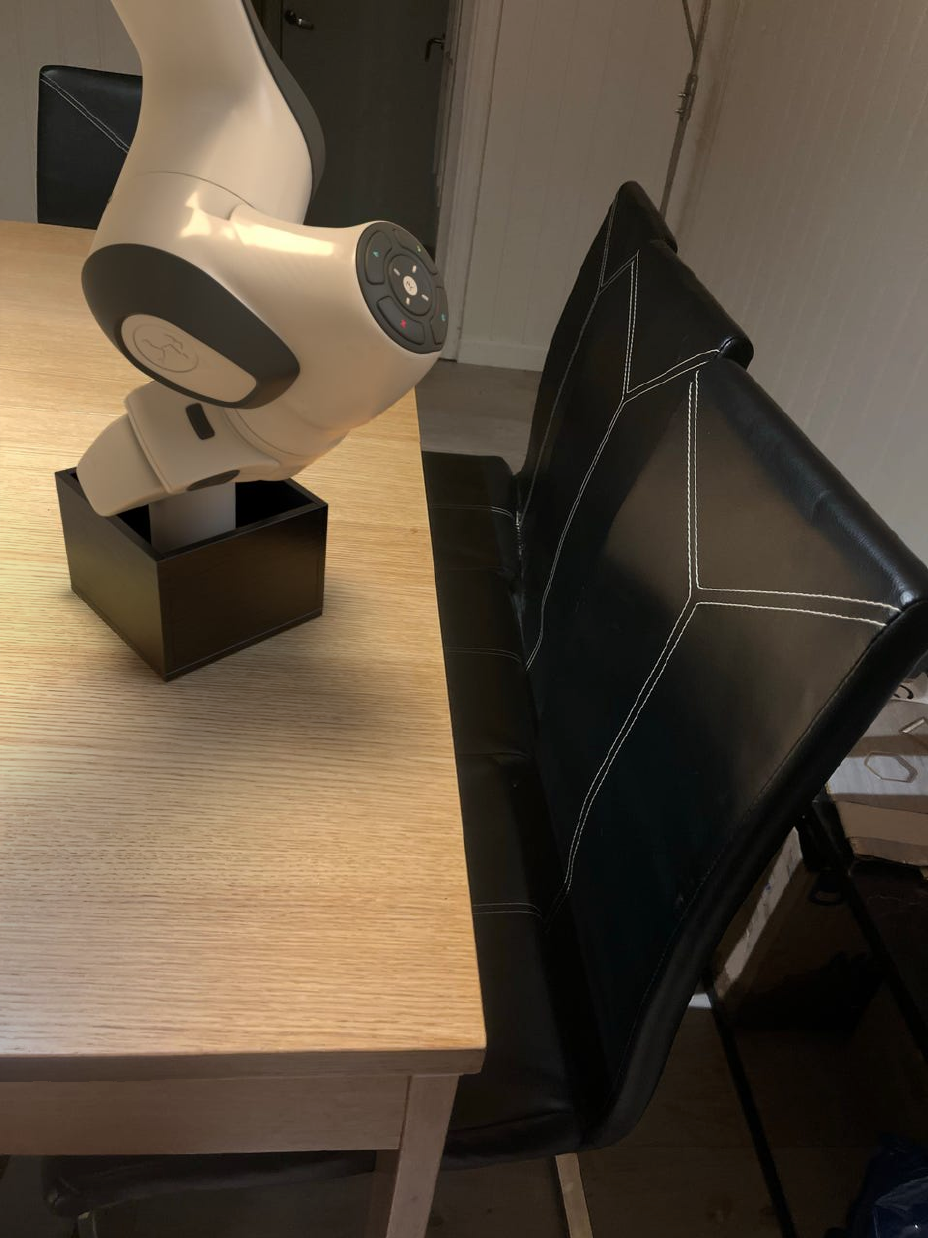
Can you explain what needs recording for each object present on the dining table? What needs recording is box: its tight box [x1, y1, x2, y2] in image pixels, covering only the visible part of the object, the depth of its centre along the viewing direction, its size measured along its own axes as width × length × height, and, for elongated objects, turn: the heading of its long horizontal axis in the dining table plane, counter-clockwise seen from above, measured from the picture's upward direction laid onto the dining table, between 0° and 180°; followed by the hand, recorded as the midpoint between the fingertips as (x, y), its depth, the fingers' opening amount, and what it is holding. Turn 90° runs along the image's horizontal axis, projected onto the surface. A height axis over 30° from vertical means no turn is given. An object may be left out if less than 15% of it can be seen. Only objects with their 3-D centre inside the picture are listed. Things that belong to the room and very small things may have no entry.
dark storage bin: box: [54, 465, 329, 683], centre depth 72 cm, size 15×15×11 cm
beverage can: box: [149, 482, 236, 554], centre depth 69 cm, size 6×6×12 cm
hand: (186, 480), depth 69 cm, fingers closed on beverage can, 6 cm apart
